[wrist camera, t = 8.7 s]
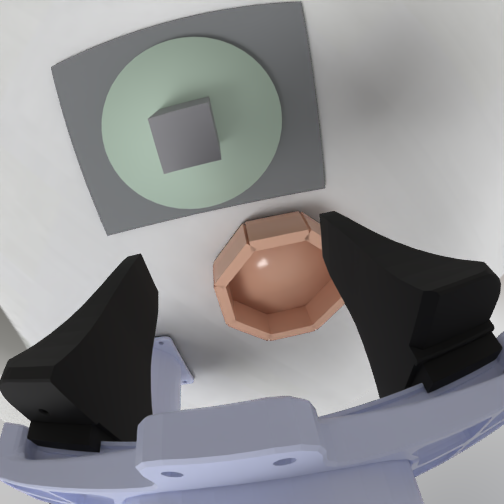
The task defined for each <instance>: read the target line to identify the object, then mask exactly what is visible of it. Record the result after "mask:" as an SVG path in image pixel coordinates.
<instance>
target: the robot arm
mask: <svg viewBox="0 0 504 504" xmlns="http://www.w3.org/2000/svg"><path fill="white" fill-rule="evenodd" d="M319 215H320V228H321V242H322V257H323V259H324V262H325V265H326V267H327V270H328V272H329V275H330V277H331V279H332V281H333V283H334V285H335V286H336V288H337V290H338V292H339V294H340V296H341V297H342V299H343V301H344V303H345V305H346V306H347V308H348V310H349V312H350V314H351V316H352V318H353V320H354V322H355V324H356V326H357V329H358V332H359V334H360V337H361V340H362V342H363V345H364V348H365V351H366V354H367V357H368V360H369V363H370V366H371V369H372V372H373V375H374V379H375V382H376V386H377V389H378V393H379V397H380V399H378V400H374V401H371V402H368V403H365V404H362V405H359V406H356V407H352V408H349V409H346V410H342V411H339V412H335V413H332V414H328V415H324V416H320V417H318V416H317V413H316V409H315V408H314V406H313V405H312V404H311V403H310V401H308V400H305V399H301V398H297V397H292V396H278V397H266V398H261V399H255V400H250V401H244V402H238V403H232V404H226V405H219V406H212V407H205V408H197V409H188V410H180V406H181V385H183V384H191V383H193V382H194V378H193V377H192V375H191V373H190V371H189V370H188V368H187V366H186V364H185V363H184V361H183V359H182V357H181V356H180V354H179V352H178V350H177V348H176V347H175V345H174V343H173V341H172V339H171V338H170V337H168V336H164V337H157V338H154V337H155V331H156V324H157V317H158V290H157V288H156V286H155V284H154V282H153V279H152V277H151V275H150V273H149V271H148V268H147V266H146V264H145V262H144V259H143V257H142V255H141V254H137V255H133V256H128V257H127V258H126V259H124V260H123V261H122V262H121V264H120V265H119V266H118V267H117V268H116V269H115V270H114V271H113V272H112V274H111V275H110V276H109V277H108V278H107V279H106V280H105V282H104V283H103V284H102V285H101V286H100V287H99V288H98V289H97V291H96V292H95V293H94V294H93V295H92V296H91V297H90V298H89V299H88V300H87V301H86V303H85V304H84V305H83V306H82V307H81V308H80V309H79V310H78V311H76V312H75V313H74V314H73V315H72V316H71V317H70V318H69V319H68V320H67V321H65V322H64V323H63V324H62V325H61V326H59V327H58V328H57V329H56V330H54V331H53V332H52V333H51V334H49V335H48V336H47V337H45V338H44V339H42V340H41V341H40V342H38V343H37V344H35V345H34V346H32V347H30V348H29V349H27V350H26V351H24V352H22V353H20V354H18V355H17V356H15V357H13V358H11V359H9V361H8V362H7V364H6V367H5V369H4V372H3V374H2V377H1V379H0V391H1V393H2V395H3V396H4V398H5V399H6V400H7V401H8V402H9V403H10V404H11V405H12V406H14V407H15V408H16V409H17V410H18V411H19V412H21V413H22V414H23V415H24V416H25V417H27V418H28V419H29V420H30V421H31V423H30V427H29V428H28V427H26V426H24V425H21V424H14V423H7V422H6V423H4V427H3V430H2V434H1V437H0V481H2V482H4V483H5V484H7V485H9V486H11V487H13V488H15V489H17V490H19V491H21V492H23V493H25V494H27V495H29V496H31V497H33V498H35V499H37V500H41V501H44V502H48V503H51V504H424V502H423V499H422V497H421V493H420V491H419V488H418V485H417V482H416V479H415V477H416V476H418V475H420V474H422V473H424V472H426V471H428V470H430V469H432V468H434V467H436V466H438V465H440V464H442V463H444V462H445V461H447V460H449V459H451V458H453V457H454V456H456V455H457V454H459V453H461V452H463V451H464V450H466V449H468V448H469V447H471V446H472V445H474V444H476V443H477V442H479V441H480V440H482V439H483V438H485V437H486V436H488V435H489V434H491V433H492V432H494V431H495V430H497V429H498V428H500V427H501V426H502V425H504V332H503V333H501V334H500V335H499V336H498V337H497V338H496V337H495V336H494V334H493V333H492V331H493V330H494V325H493V324H492V322H491V321H490V320H489V319H490V317H491V315H492V312H493V310H494V308H495V305H496V302H497V301H498V298H499V294H500V287H501V283H500V279H499V277H498V276H497V275H496V274H495V273H494V272H493V271H492V270H491V269H490V268H489V267H488V266H487V265H486V264H485V263H484V262H479V261H470V260H461V259H455V258H450V257H444V256H440V255H435V254H432V253H428V252H424V251H421V250H417V249H414V248H411V247H409V246H406V245H403V244H400V243H398V242H395V241H393V240H390V239H388V238H386V237H384V236H382V235H380V234H377V233H375V232H373V231H371V230H369V229H367V228H366V227H364V226H362V225H360V224H358V223H356V222H354V221H353V220H351V219H349V218H347V217H345V216H343V215H341V214H339V213H337V212H335V211H332V212H327V213H322V214H319ZM161 341H162V342H161Z"/></svg>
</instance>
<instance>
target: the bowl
mask: <svg viewBox="0 0 504 504" xmlns="http://www.w3.org/2000/svg"><path fill="white" fill-rule="evenodd" d="M245 224H246V225H244V224H242V225H241V226H240V227H239V229H238V230H237V231H236V233H235V234H234V235H233V237H232V238H231V239H230V241H229V242H228V243H227V245H226V246H225V247H224V249H223V250H222V252H221V253H220V254H219V256H218V257H217V258H216V260H215V261H214V265H213V276H214V289H215V292H216V295H217V298H218V301H219V304H220V307H221V310H222V313H223V316H224V319H225V322H226V324H228V326H229V327H232V328H235V329H237V330H240V331H242V332H245V333H248V334H250V335H253V336H256V337H258V338H261V339H264V340H266V341H268V340H269V339H270V341H272V340H277V339H282V338H286V337H291V336H295V335H300V334H304V333H308V332H312V331H315V329H317V330H318V329H319V328H320V327H321V326H322V325H323V324H324V323H325V322H326V321H327V320H328V319H329V318H330V317H331V316H332V315H333V314H334V313H336V312H337V311H338V310H339V309H340V308H341V307H342V306H343V305H344V304H345V303H344V301H343V299H342V297H341V296H340V294H339V292H338V290H337V288H336V286H335V285H334V283H333V281H332V279H331V277H330V275H329V272H328V270H327V267H326V265H325V262H324V259H323V257H322V242H321V228H320V223H318V222H317V221H315V220H314V219H312V218H311V217H309V216H308V215H306V214H304V213H303V212H301V213H299V211H296V212H291V213H286V214H281V215H276V216H271V217H266V218H261V219H256V220H251V221H247V222H245Z"/></svg>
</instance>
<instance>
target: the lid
mask: <svg viewBox="0 0 504 504" xmlns="http://www.w3.org/2000/svg"><path fill="white" fill-rule="evenodd" d="M281 130H282V112H281V105H280V101H279V97H278V94H277V91H276V89H275V86H274V84H273V82H272V81H271V79H270V77H269V75H268V74H267V73H266V71H265V70H264V69H263V68H262V66H261V65H260V64H259V63H258V62H257V61H256V60H255V59H254V58H252V57H251V56H250V55H248V54H247V53H246V52H244V51H243V50H241V49H239V48H237V47H235V46H234V45H232V44H229V43H226V42H223V41H221V40H216V39H212V38H206V37H183V38H177V39H172V40H168V41H165V42H162V43H160V44H157V45H155V46H153V47H151V48H149V49H147V50H145V51H144V52H142V53H141V54H139V55H138V56H137V57H135V58H134V59H133V60H132V61H131V62H130V63H129V64H127V65H126V66H125V68H124V69H123V70H122V71H121V72H120V74H119V75H118V76H117V78H116V79H115V81H114V83H113V84H112V86H111V88H110V90H109V92H108V95H107V97H106V101H105V104H104V107H103V114H102V138H103V143H104V147H105V151H106V154H107V156H108V159H109V161H110V163H111V165H112V166H113V168H114V170H115V171H116V173H117V174H118V175H119V177H120V178H121V179H122V180H123V181H124V182H125V183H126V184H127V185H128V186H129V187H130V188H131V189H132V190H134V191H135V192H136V193H138V194H139V195H141V196H143V197H144V198H146V199H148V200H150V201H153V202H155V203H157V204H161V205H164V206H167V207H173V208H179V209H199V208H205V207H211V206H214V205H218V204H221V203H223V202H226V201H228V200H231V199H233V198H234V197H236V196H238V195H240V194H241V193H243V192H244V191H245V190H247V189H248V188H249V187H251V186H252V185H253V184H254V183H255V182H256V181H257V180H258V179H259V178H260V177H261V175H262V174H263V173H264V172H265V171H266V169H267V167H268V166H269V164H270V163H271V161H272V159H273V157H274V155H275V153H276V150H277V147H278V144H279V141H280V136H281Z"/></svg>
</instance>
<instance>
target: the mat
mask: <svg viewBox="0 0 504 504" xmlns="http://www.w3.org/2000/svg"><path fill="white" fill-rule="evenodd" d="M183 37H206V38H212V39H216V40H221V41H223V42H226V43H229V44H232V45H234V46H235V47H237V48H239V49H241V50H243V51H244V52H246V53H247V54H248V55H250V56H251V57H252V58H254V59H255V60H256V61H257V62H258V63H259V64H260V65H261V66H262V68H263V69H264V70H265V71H266V73H267V74H268V75H269V77H270V79H271V81H272V82H273V84H274V86H275V89H276V91H277V94H278V97H279V101H280V105H281V112H282V130H281V136H280V141H279V144H278V147H277V150H276V153H275V155H274V157H273V159H272V161H271V163H270V164H269V166H268V167H267V169H266V171H265V172H264V173H263V174H262V175H261V177H260V178H259V179H258V180H257V181H256V182H255V183H254V184H253V185H252V186H251V187H249V188H248V189H247V190H245V191H244V192H243V193H241V194H240V195H238V196H236V197H234V198H233V199H231V200H228V201H226V202H223V203H221V204H218V205H214V206H211V207H205V208H199V209H179V208H173V207H167V206H164V205H161V204H157V203H155V202H153V201H150V200H148V199H146V198H144V197H143V196H141V195H139V194H138V193H136V192H135V191H134V190H132V189H131V188H130V187H129V186H128V185H127V184H126V183H125V182H124V181H123V180H122V179H121V178H120V177H119V175H118V174H117V173H116V171H115V170H114V168H113V166H112V165H111V163H110V161H109V159H108V156H107V154H106V151H105V147H104V143H103V138H102V114H103V107H104V104H105V101H106V97H107V95H108V92H109V90H110V88H111V86H112V84H113V83H114V81H115V79H116V78H117V76H118V75H119V74H120V72H121V71H122V70H123V69H124V68H125V66H126V65H127V64H129V63H130V62H131V61H132V60H133V59H134V58H135V57H137V56H138V55H139V54H141V53H142V52H144V51H145V50H147V49H149V48H151V47H153V46H155V45H157V44H160V43H162V42H165V41H168V40H172V39H177V38H183ZM51 70H52V74H53V78H54V82H55V86H56V90H57V94H58V98H59V101H60V105H61V109H62V112H63V116H64V119H65V122H66V126H67V129H68V132H69V135H70V138H71V142H72V145H73V148H74V151H75V154H76V156H77V159H78V162H79V165H80V168H81V171H82V173H83V176H84V179H85V182H86V184H87V187H88V189H89V192H90V195H91V197H92V200H93V202H94V205H95V207H96V210H97V212H98V215H99V217H100V219H101V222H102V224H103V226H104V229H105V231H106V233H107V236H109V235H112V234H116V233H120V232H124V231H128V230H132V229H136V228H140V227H144V226H148V225H152V224H156V223H160V222H164V221H169V220H173V219H177V218H181V217H186V216H190V215H194V214H199V213H203V212H208V211H212V210H217V209H222V208H226V207H231V206H236V205H240V204H245V203H250V202H255V201H260V200H265V199H270V198H275V197H280V196H285V195H291V194H296V193H301V192H307V191H312V190H318V189H323V188H325V178H324V166H323V154H322V144H321V134H320V124H319V116H318V107H317V99H316V91H315V84H314V76H313V69H312V63H311V56H310V50H309V44H308V38H307V32H306V26H305V21H304V15H303V10H302V5H301V2H286V3H273V4H262V5H253V6H245V7H238V8H232V9H226V10H220V11H214V12H209V13H204V14H199V15H195V16H190V17H186V18H182V19H178V20H174V21H170V22H166V23H163V24H159V25H156V26H152V27H149V28H146V29H142V30H139V31H136V32H133V33H130V34H127V35H124V36H122V37H119V38H116V39H113V40H111V41H108V42H106V43H103V44H101V45H98V46H96V47H93V48H91V49H88V50H86V51H84V52H82V53H79V54H77V55H75V56H73V57H71V58H68V59H66V60H64V61H62V62H60V63H58V64H56V65H54V66H52V67H51Z"/></svg>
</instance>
